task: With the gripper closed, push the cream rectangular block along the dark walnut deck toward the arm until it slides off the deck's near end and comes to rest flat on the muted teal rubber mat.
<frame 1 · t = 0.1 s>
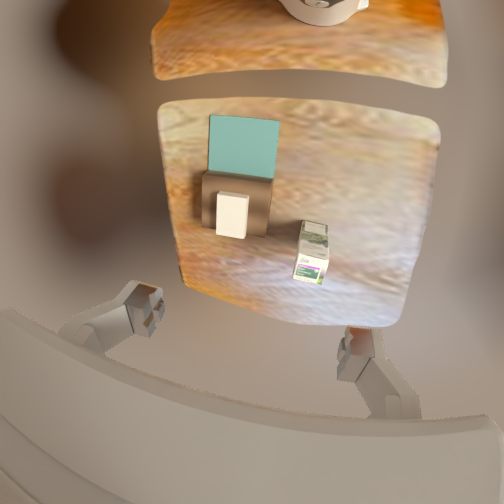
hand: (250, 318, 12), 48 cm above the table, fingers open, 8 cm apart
deck: (238, 199, 62), on the table
mat: (242, 145, 55), on the table
cream rectangular block: (233, 213, 59), point 4 cm above the table, touching deck
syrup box: (312, 232, 62), on the table
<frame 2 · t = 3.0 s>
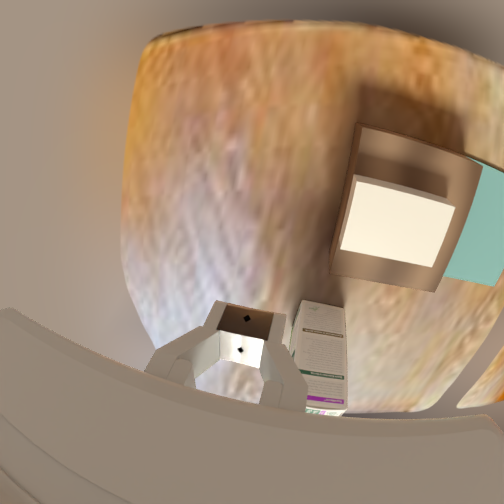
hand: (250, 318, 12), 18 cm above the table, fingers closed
deck: (398, 204, 26), on the table
mat: (485, 229, 24), on the table
cream rectangular block: (394, 217, 23), point 4 cm above the table, touching deck
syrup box: (318, 317, 36), on the table
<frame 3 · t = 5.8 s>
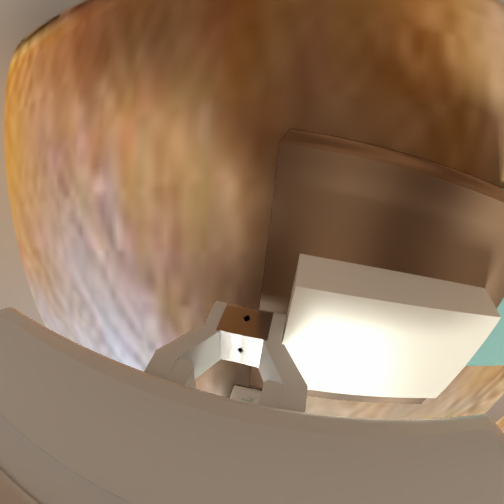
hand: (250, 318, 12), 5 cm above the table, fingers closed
deck: (376, 275, 15), on the table
cream rectangular block: (382, 325, 12), point 4 cm above the table, touching deck, gripper
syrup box: (260, 402, 25), on the table
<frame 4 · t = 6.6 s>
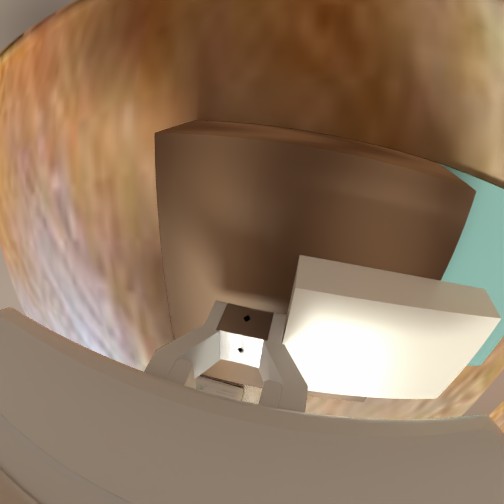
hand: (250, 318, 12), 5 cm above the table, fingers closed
deck: (299, 261, 16), on the table
mat: (473, 292, 14), on the table
cream rectangular block: (382, 326, 12), point 4 cm above the table, touching gripper
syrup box: (215, 392, 26), on the table
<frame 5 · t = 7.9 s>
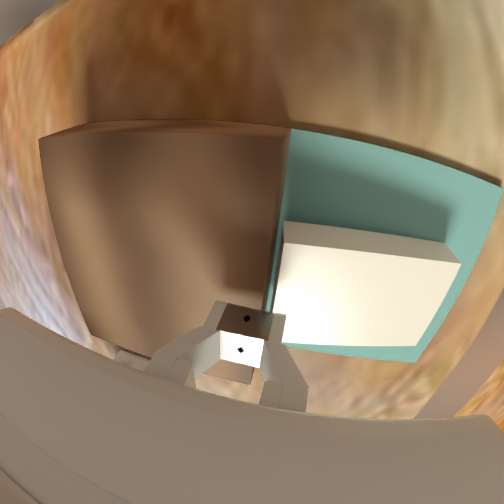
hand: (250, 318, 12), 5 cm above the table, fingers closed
deck: (174, 238, 17), on the table
mat: (377, 274, 15), on the table
cream rectangular block: (358, 281, 15), point 1 cm above the table, tilted 7°, touching mat
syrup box: (149, 370, 27), on the table
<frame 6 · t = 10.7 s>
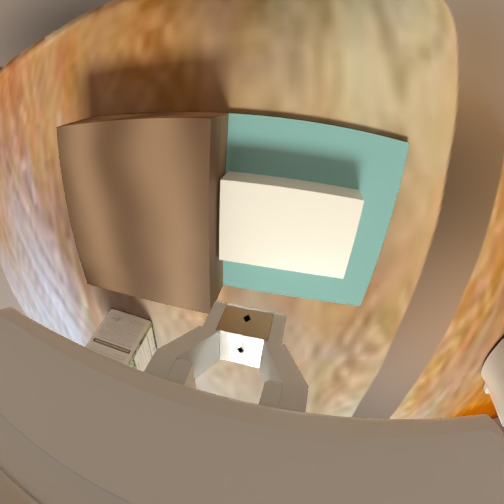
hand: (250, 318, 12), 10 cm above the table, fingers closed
deck: (153, 199, 22), on the table
mat: (307, 219, 20), on the table
cream rectangular block: (288, 218, 20), resting on mat
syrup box: (136, 328, 32), on the table
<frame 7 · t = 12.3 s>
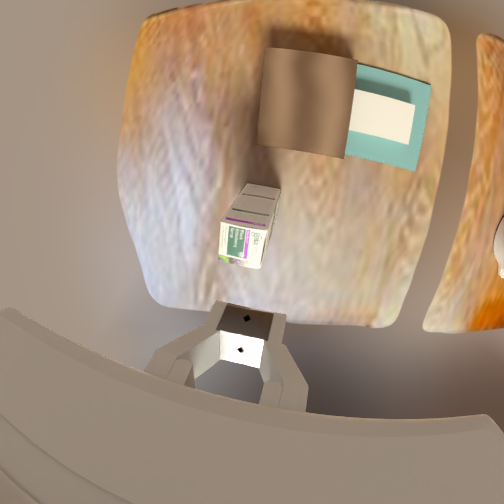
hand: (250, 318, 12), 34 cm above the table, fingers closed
deck: (307, 100, 36), on the table
mat: (387, 117, 34), on the table
cream rectangular block: (379, 115, 34), resting on mat
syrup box: (262, 201, 46), on the table
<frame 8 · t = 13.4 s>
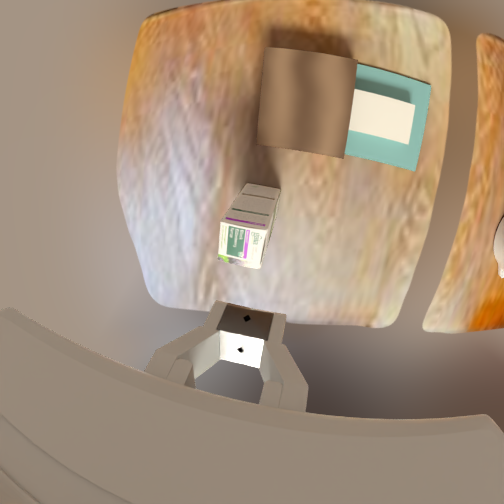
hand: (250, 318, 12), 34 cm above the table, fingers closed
deck: (307, 100, 36), on the table
mat: (387, 117, 34), on the table
cream rectangular block: (379, 115, 34), resting on mat
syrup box: (262, 201, 46), on the table
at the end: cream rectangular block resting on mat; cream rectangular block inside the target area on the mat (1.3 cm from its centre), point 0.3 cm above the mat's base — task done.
